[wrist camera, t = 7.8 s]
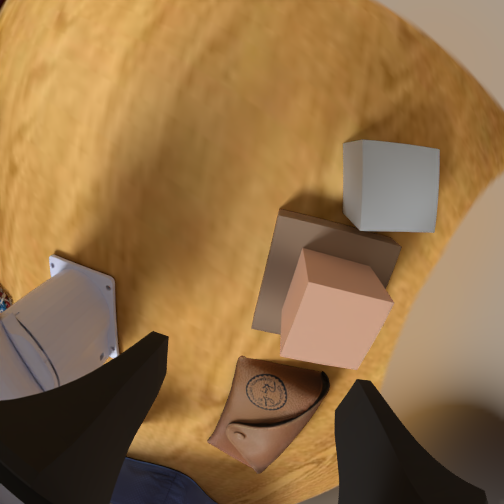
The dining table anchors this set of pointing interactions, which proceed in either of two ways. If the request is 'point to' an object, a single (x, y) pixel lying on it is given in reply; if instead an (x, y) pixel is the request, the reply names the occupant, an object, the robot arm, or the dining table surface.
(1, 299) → the woven mat
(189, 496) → the lunch bag
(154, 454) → the dining table surface
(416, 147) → the grey cube
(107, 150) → the dining table surface
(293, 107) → the dining table surface
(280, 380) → the sunglasses case
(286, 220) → the walnut slab
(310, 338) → the terracotta cube
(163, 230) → the dining table surface
